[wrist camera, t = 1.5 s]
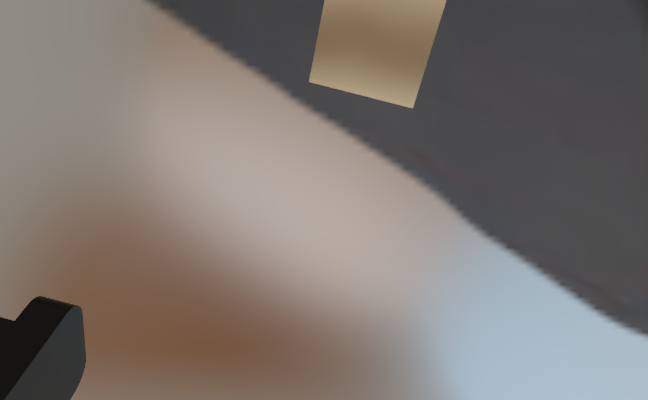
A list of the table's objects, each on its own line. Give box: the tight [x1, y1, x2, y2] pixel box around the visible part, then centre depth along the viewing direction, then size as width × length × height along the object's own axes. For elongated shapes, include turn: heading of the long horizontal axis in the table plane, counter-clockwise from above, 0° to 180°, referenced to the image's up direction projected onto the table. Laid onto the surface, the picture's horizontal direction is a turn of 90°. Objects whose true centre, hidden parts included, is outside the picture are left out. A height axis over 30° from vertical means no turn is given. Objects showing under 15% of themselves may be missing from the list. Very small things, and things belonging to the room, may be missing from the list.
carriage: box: [309, 0, 446, 108], centre depth 28 cm, size 5×5×6 cm
